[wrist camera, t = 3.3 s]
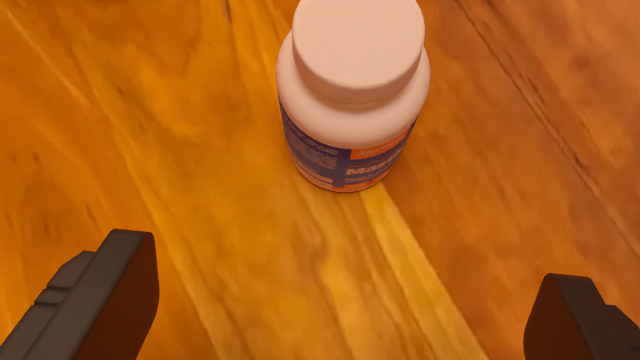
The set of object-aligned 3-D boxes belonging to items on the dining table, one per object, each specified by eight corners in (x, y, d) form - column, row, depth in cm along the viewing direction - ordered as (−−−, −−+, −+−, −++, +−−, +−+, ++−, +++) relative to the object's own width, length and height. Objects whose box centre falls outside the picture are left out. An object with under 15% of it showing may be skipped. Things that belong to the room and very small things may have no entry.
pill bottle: (353, 218, 24) (377, 152, 15) (262, 146, 25) (229, 41, 16) (424, 129, 25) (487, 16, 16) (334, 64, 26) (344, -81, 17)
